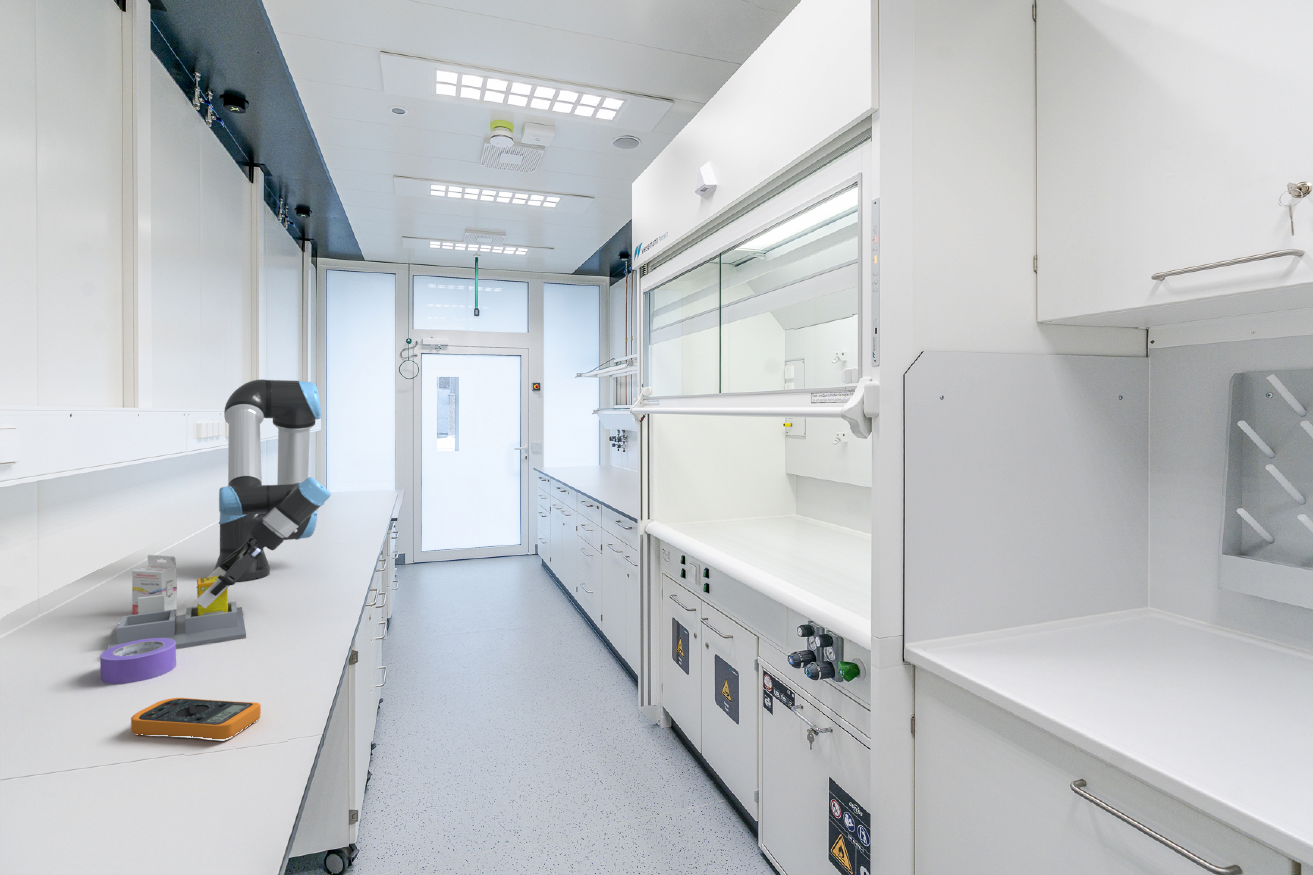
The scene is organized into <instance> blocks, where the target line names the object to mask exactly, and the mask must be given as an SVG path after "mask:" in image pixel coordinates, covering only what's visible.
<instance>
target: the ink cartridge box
mask: <svg viewBox="0 0 1313 875" xmlns="http://www.w3.org/2000/svg"><path fill="white" fill-rule="evenodd" d="M160 560H163V561H161V562H160ZM176 560H177V558H176V557H175V556H173V555H172V556H171V555H156V554H155V555H152V554H148V555H147V563H148V564H147V565H148V566H144V567H141V568H136V569H131V576H132V577H131V578H132V581H131V588H132V589H131V591H132V592H131V597H132V598H131V599H132V602H131V603H132V604H131V606H132V607H131V610H132V612H131V615H136V614H138V598H139V597H148V596H156V595H165V611H167V610H174V609H176V612H178V583H177V582H178V580H177V578H178V577H177V576H178V573H177V571H178V568H177V563H176V562H177V561H176Z"/></svg>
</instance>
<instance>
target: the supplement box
mask: <svg viewBox="0 0 1313 875" xmlns="http://www.w3.org/2000/svg"><path fill="white" fill-rule="evenodd" d="M223 576H224V575H223ZM218 577H219V576H215V577H208V576H207V577H199V578H197V580H196V587H197V588H196V589H197V590H196V592H197V597H196V598H197V599H198V598H199V597H200V596H201V595H202V594H203V593H204V592H205V591H206V590H207V589H208V588H209V587H211V586H212V585H213V584H214V583H215V582H216V581H217V580H218ZM228 588H229V587H228ZM228 588H227V589H225V590H224V591H223V592H222V593H221V594H220V595H219V596H218V597H217V598H216V599H215V600H214V601H213V602H212V603H211V604H210V605H208V606H207V607H206V608H204V607H202V606H201V605H199V604H198V603H197V606H198V616H203V615H210V614H218V613H225V612H228V602H229V601H228V597H229V595H228V594H229V592H228V591H229V590H228ZM197 599H196V600H197Z"/></svg>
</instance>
